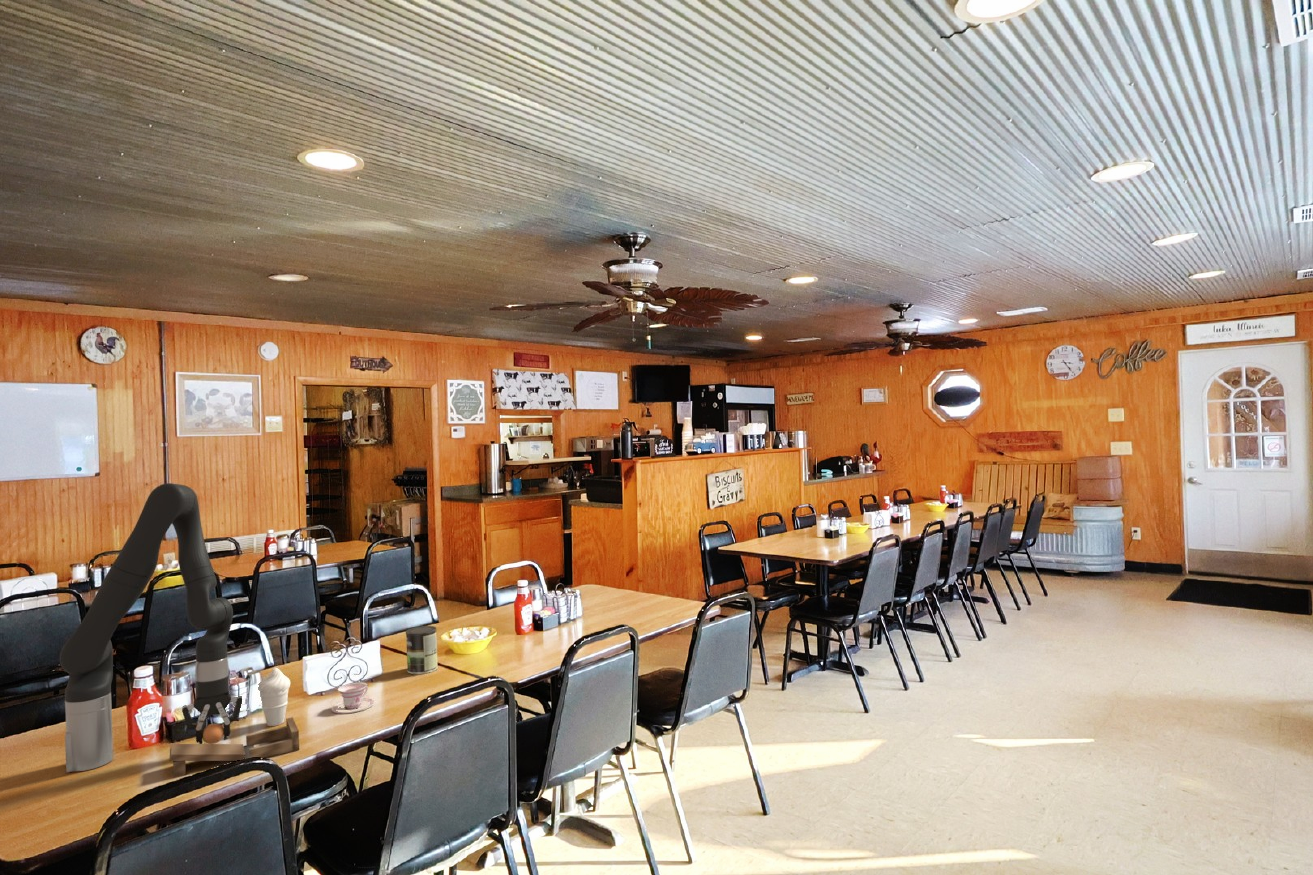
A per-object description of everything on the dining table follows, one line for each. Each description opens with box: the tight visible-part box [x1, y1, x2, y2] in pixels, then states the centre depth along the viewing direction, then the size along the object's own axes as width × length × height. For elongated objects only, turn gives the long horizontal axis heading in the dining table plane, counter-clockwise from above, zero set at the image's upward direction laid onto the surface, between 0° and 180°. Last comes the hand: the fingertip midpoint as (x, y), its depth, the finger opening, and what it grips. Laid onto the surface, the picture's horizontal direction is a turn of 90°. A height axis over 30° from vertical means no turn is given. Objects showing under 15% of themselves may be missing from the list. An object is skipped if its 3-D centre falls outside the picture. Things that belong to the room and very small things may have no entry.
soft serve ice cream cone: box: [258, 667, 291, 727], centre depth 208 cm, size 8×8×16 cm
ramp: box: [169, 743, 246, 778], centre depth 183 cm, size 16×8×6 cm, turn 123°
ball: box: [202, 723, 224, 744], centre depth 191 cm, size 5×5×5 cm
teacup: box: [331, 682, 375, 715], centre depth 220 cm, size 12×12×6 cm
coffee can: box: [405, 625, 439, 675], centre depth 254 cm, size 10×10×14 cm
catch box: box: [243, 716, 300, 759], centre depth 190 cm, size 12×12×5 cm
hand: (213, 740), depth 191 cm, fingers closed on ball, 5 cm apart
